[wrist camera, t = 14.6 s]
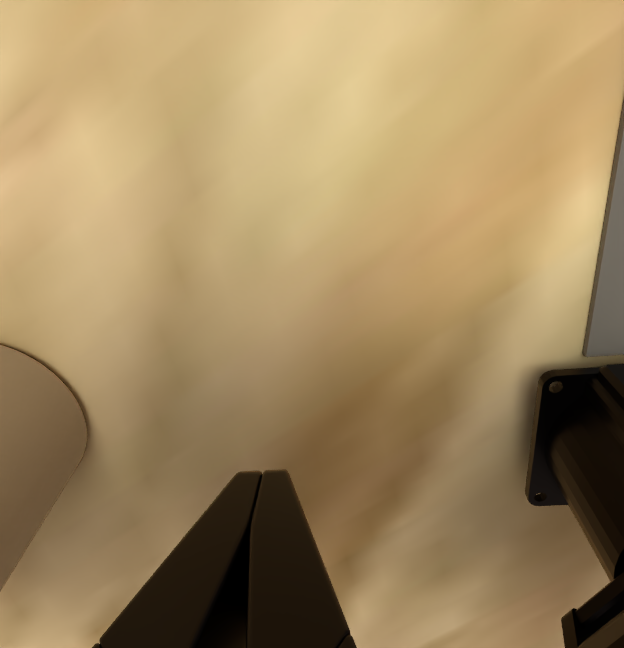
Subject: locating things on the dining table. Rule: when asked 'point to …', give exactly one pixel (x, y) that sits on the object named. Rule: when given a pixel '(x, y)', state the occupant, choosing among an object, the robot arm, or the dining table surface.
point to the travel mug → (33, 450)
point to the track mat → (610, 269)
